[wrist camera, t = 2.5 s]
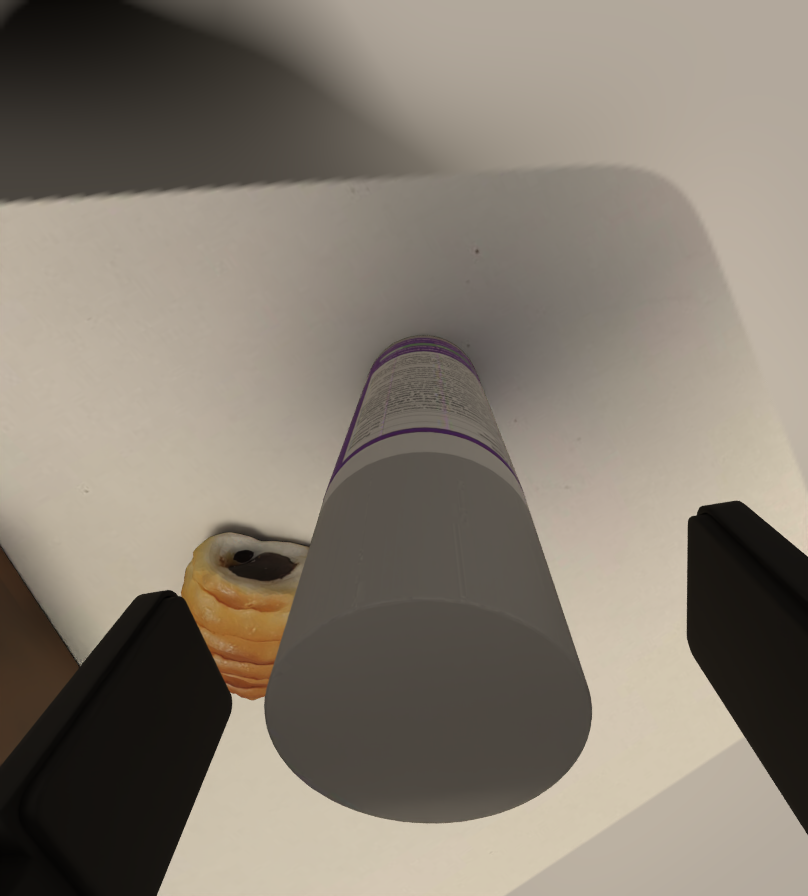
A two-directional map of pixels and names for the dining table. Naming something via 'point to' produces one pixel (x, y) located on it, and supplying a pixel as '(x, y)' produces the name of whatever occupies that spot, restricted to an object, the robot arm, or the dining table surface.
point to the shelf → (26, 660)
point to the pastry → (243, 604)
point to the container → (426, 614)
